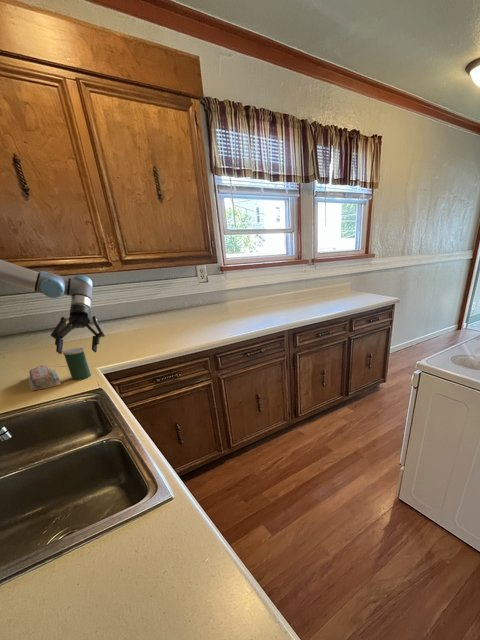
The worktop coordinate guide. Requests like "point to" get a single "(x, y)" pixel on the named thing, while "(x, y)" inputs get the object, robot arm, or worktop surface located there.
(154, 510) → the worktop surface
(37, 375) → the packaged product
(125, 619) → the worktop surface
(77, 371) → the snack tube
